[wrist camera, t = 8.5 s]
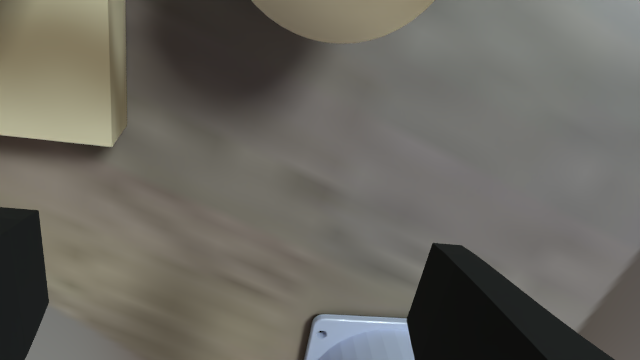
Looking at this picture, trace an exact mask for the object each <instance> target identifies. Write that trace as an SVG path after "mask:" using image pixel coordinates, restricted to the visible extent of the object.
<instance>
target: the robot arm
mask: <svg viewBox="0 0 640 360" xmlns="http://www.w3.org/2000/svg"><path fill="white" fill-rule="evenodd" d="M48 303H49V299H48V290H47V281H46V272H45V263H44V255H43V246H42V237H41V228H40V219H39V211H38V210H27V209H15V208H3V207H0V360H25V358H26V356H27V354H28V351H29V349H30V347H31V345H32V342H33V340H34V338H35V335H36V333H37V331H38V328H39V326H40V323H41V321H42V318H43V316H44V313H45V310H46V308H47V306H48ZM319 331H324V332H321V333H319ZM304 360H614V359H613V358H612V357H610V356H609V355H607V354H606V353H604V352H603V351H602V350H600V349H599V348H597V347H596V346H595V345H593V344H592V343H590V342H589V341H588V340H586V339H585V338H583V337H582V336H581V335H579V334H578V333H577V332H575V331H574V330H573V329H571V328H570V327H568V326H567V325H566V324H564V323H563V322H562V321H560V320H559V319H558V318H557V317H555V316H554V315H553V314H551V313H550V312H549V311H547V310H546V309H545V308H543V307H542V306H541V305H540V304H538V303H537V302H536V301H534V300H533V299H532V298H531V297H529V296H528V295H527V294H525V293H524V292H523V291H522V290H520V289H519V288H518V287H517V286H515V285H514V284H513V283H511V282H510V281H509V280H508V279H506V278H505V277H504V276H503V275H501V274H500V273H499V272H497V271H496V270H495V269H494V268H492V267H491V266H490V265H488V264H487V263H486V262H484V261H483V260H482V259H480V258H479V257H478V256H476V255H475V254H474V253H472V252H471V251H469V250H468V249H466V248H465V247H463V246H461V245H450V244H438V243H433V244H432V247H431V250H430V253H429V256H428V258H427V261H426V264H425V267H424V270H423V273H422V276H421V279H420V282H419V285H418V288H417V291H416V294H415V297H414V300H413V303H412V306H411V309H410V311H409V314H408V317H407V318H389V317H370V316H351V315H331V314H321V315H318V316H316V317H315V318H314V319H313V322H312V326H311V331H310V335H309V340H308V344H307V349H306V353H305V358H304Z"/></svg>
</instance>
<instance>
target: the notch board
mask: <svg viewBox="0 0 640 360" xmlns="http://www.w3.org/2000/svg"><path fill="white" fill-rule="evenodd" d="M126 126H127V85H126V8H125V0H0V135H4V136H14V137H23V138H32V139H42V140H51V141H60V142H70V143H79V144H88V145H97V146H107V147H112V146H113V145H114V143H115V142H116V141H117V139H118V138H119V136H120V135H121V133H122V132H123V130H124V129H125V127H126Z"/></svg>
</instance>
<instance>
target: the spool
mask: <svg viewBox="0 0 640 360" xmlns="http://www.w3.org/2000/svg"><path fill="white" fill-rule="evenodd" d="M251 1H252V2H253V3H254V4H255V5H256V6H257V7H258V8H259V9H260V10H261V11H262V12H263V13H264V14H265V15H266V16H267V17H269V18H270V19H272V20H273V21H274V22H276V23H277V24H279V25H280V26H282V27H284V28H285V29H287V30H289V31H291V32H293V33H295V34H297V35H300V36H303V37H305V38H308V39H311V40H316V41H320V42H325V43H336V44H347V43H358V42H364V41H369V40H373V39H376V38H379V37H382V36H385V35H387V34H389V33H392V32H394V31H396V30H398V29H400V28H401V27H403V26H405V25H406V24H408V23H409V22H411V21H412V20H414V19H415V18H416V17H417V16H419V15H420V14H421V13H422V12H424V11H425V10H426V9H427V8H428V7H429V6H430V5H431V4H432V3H433V2H434V1H435V0H251Z"/></svg>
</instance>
